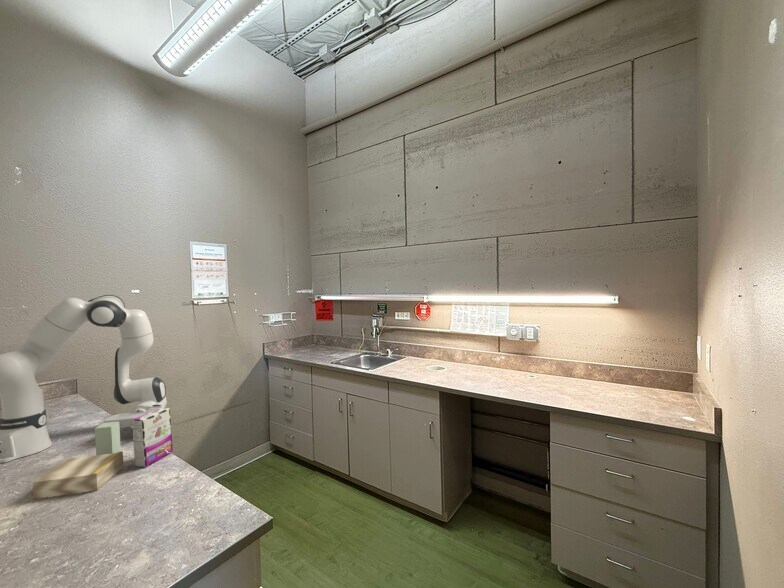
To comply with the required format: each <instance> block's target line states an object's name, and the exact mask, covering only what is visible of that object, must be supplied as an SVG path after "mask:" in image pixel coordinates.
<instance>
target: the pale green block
mask: <svg viewBox="0 0 784 588" xmlns="http://www.w3.org/2000/svg"><path fill="white" fill-rule="evenodd" d="M120 428H121V427H119V421H118V422H108V423H103V422H102V423H101V424H99V425H98V426H96V427H95V428H94V439H95V441H94V443H95V456H96V455H104V454H112V453H117V452H122V447H121V432H120V431H121V429H120Z"/></svg>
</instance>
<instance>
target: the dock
mask: <svg viewBox="0 0 784 588" xmlns="http://www.w3.org/2000/svg"><path fill="white" fill-rule="evenodd" d="M123 468H124V451H123V450H121V452H117V453H112V454H104V455H96V454H95V455H89V456H80V457H72V458H71V457H70V458H67V459H65V460H64V461H62V462H60V463H58V464H57V465H56V466H55V467H54V468H52V469H51V470H49V471H47V472H46V473H44V474H43V475H41V476H40V477H38V478H37V479H36V480H34V481H32V492H33V493H32V494H33V495H32V496H33V500H39V499H47V497H48V498H54V496H55V497H60V496H61V495H62V496H70V495H74V494H76V495H77V494H83V492H84V493H90V492H89V491H91V492H97V491H96V490H98V489H99V490H100V489H101V488H102V487H103V486H104V485H106V483H107V482H108V480H109V481H110V480H111V479H112V478H113V477H114V476H115V475H116V474H118V473H119V472H120V471H119V470H122V469H123ZM99 490H98V491H99Z"/></svg>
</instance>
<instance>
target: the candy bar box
mask: <svg viewBox="0 0 784 588" xmlns="http://www.w3.org/2000/svg"><path fill="white" fill-rule="evenodd" d="M131 428H132V429H131V430H132V441H133V453H134V454H133V455H134V466H135V467H136V466H141V467H140V468H147V466H148V467H150V466H151V465H153V464H154V463H157V462H158V461H159V460H161V459H163V458H165V457H166V456H168V455H169V454H167V452H166V451H165V450H167V451H168V452H170V454H171V453H173V452H174V450H173V436H172V435H173V434H172V421H171V408H168V407H165V408H158V409H156V410H154V411H151V412H149V413H147V414H144V415H142V416H140V417H137V418H135V419H133V420H132V426H131ZM162 448H164V449H162ZM152 463H153V464H152Z"/></svg>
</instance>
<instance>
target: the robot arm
mask: <svg viewBox="0 0 784 588" xmlns="http://www.w3.org/2000/svg"><path fill="white" fill-rule="evenodd" d="M125 306H126V305H125V302H124V300H122V299H121V298H120V297H119V296H117V295H114V294H103V295H100V296H98V297H97V296H96V297H94V298H92V299H89V300H88V301H85V300H83V299H81V298H79V297H68V298H64V299H63V300H62V301H61V302H59V303H58V304H56V305H55V306H53V308H52V309H50V310H49V311H48V312H47V313H46V314H45V315H44V316H43V317H42V318H41V319H40V320H39V321H37V323H35V325H34V326H33V327H32V328H31V329H30V330H29V332H28V333H27V338H26V339H25V341H23V344H22V345H20V346H19V347H18V348H17V349H15V350H12V351H8V352H4V353H0V406H1V407H0V408H1V418H0V464H1V463H2V464H3V463H8V462H11V461H14V460H16V459H20V458H23V457H27V456H31V455H34V454H37V453H39V452H41V451H44V450H46V449H48V448H50V447H52V446H53V442H52V440H51V438H50V435H49V432H48V428H47V422H48V421H47V418H48V417H47V416H48V415H47V410H46V409H45V400H44V399H45V398H44V396H45V395H44V390H43V389H42V388H41V387H40V386H39V385H38V382H37V381H36V378H35V377H36V376H35V375H36V374H39V373H41V372H44V371H45V369H47V368H48V367H49V366H50V365H51V364H52V362H53V360H54V358H55V356H56V355H57V353H58V352H59V351H60V349H61V348H62V346H64V344H65V343H66V342H67V341H68V340H69V339H71V337H72V336H73V335H74V334H75V333H76V332H77V331H78V329H79V328H80V327H81V326H82V325H84V324H85V323H87V322H88V321H89V322H90V323H91V324H92V325H95V326H97V327H104V328H118V330H119V333H120V334H119V335H120V337H121V344H120V347H118V348H117V349H116V351H115V354H114V387H113V388H114V390H113V398H114V400H115V401H116V402H117V403H119V404H121V405H127V404H131V403H136V402H140V403H138V404H137V405H135V406H133V407H132V408H131V409H130V410H129V412H125V413H117V414H113V415H111V416H108V417H106V418H105V419H104V420H103V422H102V424H103V423H108V422H118V421H119V427H120V428H126V427H127V428H129V427H132V420H133V419H135V418H137V417H140V416H142V415H144V414H147V413H149V412H151V411H154V410H156V409H158V408H167V407H166V406H167V403H168V401H167V397H166V395H167V394H166V393H167V389H166V384H165V381H163V380H162V379H161V378H159V377H158V376H155V377H154V376H153V377H148V378H147V377H146V378H141V379H131V378H130V362H131V360H133V359H134V358H136V357H138V356H141V355H143V354H144V353H146V352H147V351H148V350H150V349H151V348H152V347H153V345H154V340H155V339H154V333H153V329H152V328H153V327H152V325H151V322H150V319H149V317H148V314H147V313H146V312H145V311H144V310H142V309H137V308H132V309H127V308H126V307H125Z"/></svg>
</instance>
